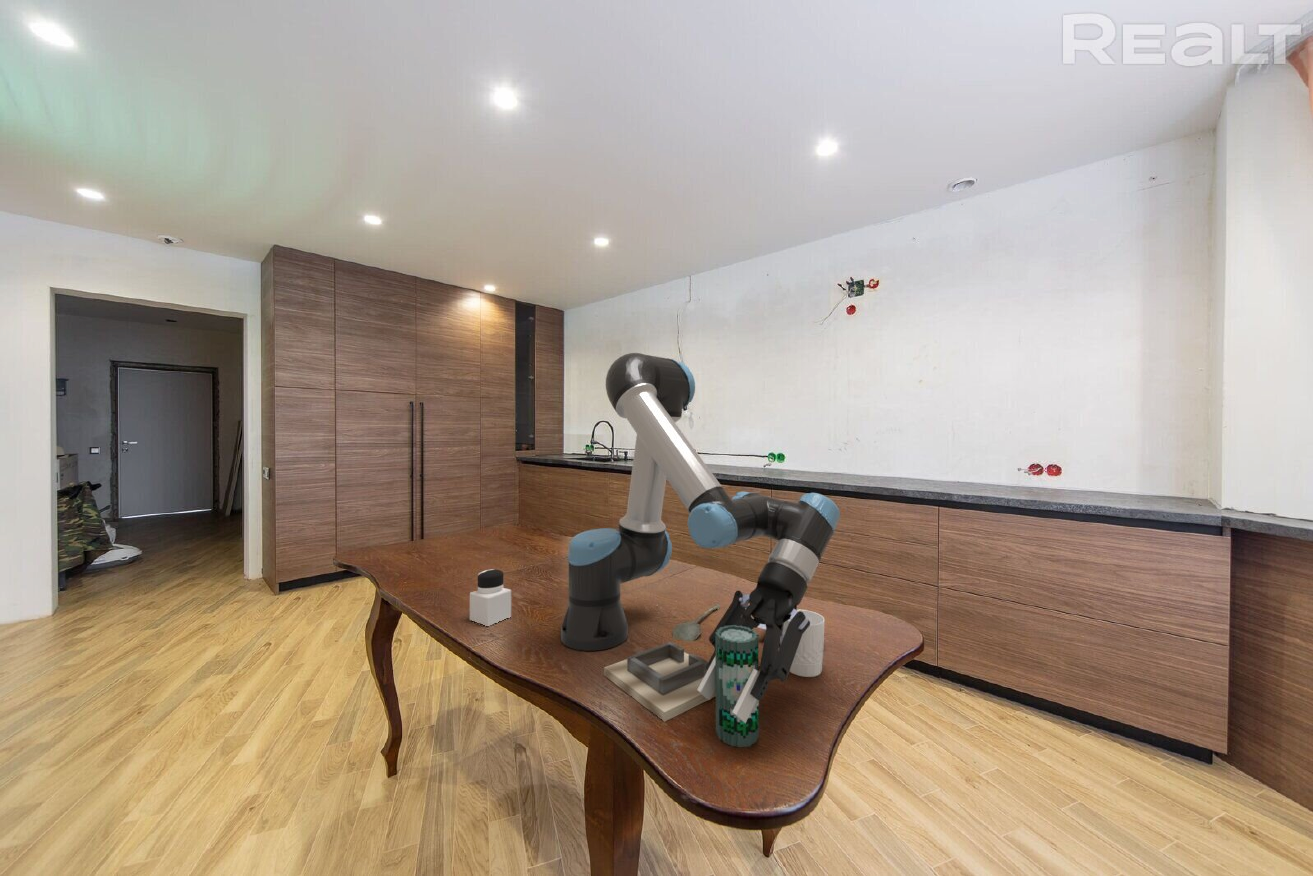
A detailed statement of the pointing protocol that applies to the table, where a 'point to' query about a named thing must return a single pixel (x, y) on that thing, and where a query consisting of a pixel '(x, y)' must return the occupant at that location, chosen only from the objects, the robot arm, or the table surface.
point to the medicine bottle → (490, 599)
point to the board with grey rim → (661, 679)
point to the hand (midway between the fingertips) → (720, 705)
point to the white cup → (809, 646)
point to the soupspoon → (690, 628)
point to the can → (735, 683)
